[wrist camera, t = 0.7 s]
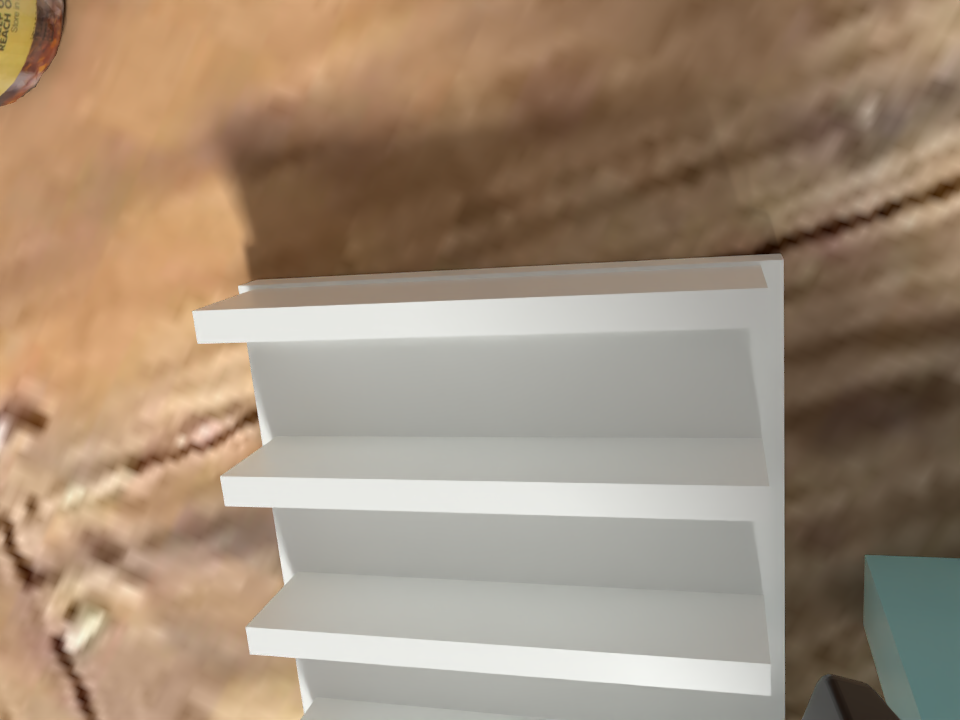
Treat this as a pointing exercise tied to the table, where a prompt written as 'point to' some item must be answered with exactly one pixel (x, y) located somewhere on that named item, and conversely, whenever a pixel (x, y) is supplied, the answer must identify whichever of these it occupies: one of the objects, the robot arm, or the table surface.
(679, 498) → the dish rack
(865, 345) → the table surface
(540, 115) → the table surface
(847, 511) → the table surface
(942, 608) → the light blue block
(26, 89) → the sauce bottle
